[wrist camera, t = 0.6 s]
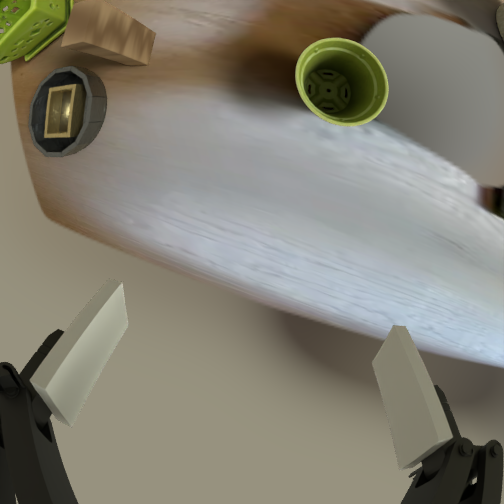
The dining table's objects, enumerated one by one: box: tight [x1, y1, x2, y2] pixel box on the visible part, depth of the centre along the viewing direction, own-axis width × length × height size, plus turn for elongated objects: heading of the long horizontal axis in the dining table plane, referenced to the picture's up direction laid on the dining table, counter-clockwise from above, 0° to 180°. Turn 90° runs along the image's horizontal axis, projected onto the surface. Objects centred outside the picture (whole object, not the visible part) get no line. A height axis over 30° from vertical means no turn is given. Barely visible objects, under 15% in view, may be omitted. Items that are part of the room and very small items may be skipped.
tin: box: [29, 66, 107, 157], centre depth 29 cm, size 14×14×4 cm
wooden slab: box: [61, 0, 156, 66], centre depth 21 cm, size 5×3×15 cm, turn 170°
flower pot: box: [0, 0, 74, 64], centre depth 17 cm, size 14×14×13 cm
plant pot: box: [295, 38, 388, 126], centre depth 25 cm, size 9×9×9 cm
